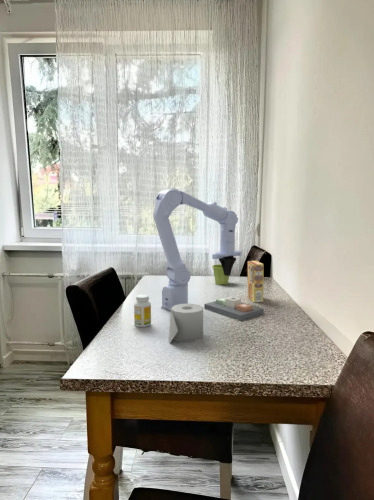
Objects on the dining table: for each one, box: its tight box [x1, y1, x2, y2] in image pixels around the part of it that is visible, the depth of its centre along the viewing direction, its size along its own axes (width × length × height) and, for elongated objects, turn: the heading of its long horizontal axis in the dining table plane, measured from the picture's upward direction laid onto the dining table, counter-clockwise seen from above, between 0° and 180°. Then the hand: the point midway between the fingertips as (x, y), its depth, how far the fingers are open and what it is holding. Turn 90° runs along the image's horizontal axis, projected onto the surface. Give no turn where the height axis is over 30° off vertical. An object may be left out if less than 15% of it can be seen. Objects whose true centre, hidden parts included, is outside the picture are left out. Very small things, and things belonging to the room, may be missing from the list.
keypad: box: [203, 300, 265, 321], centre depth 132 cm, size 12×18×2 cm, turn 39°
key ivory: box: [225, 296, 242, 309], centre depth 131 cm, size 4×4×3 cm
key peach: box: [236, 303, 252, 312], centre depth 127 cm, size 4×4×3 cm
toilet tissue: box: [168, 303, 204, 344], centre depth 105 cm, size 9×13×9 cm
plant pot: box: [211, 263, 230, 286], centre depth 175 cm, size 9×9×9 cm
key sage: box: [215, 297, 227, 306], centre depth 135 cm, size 4×4×3 cm
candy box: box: [247, 260, 265, 303], centre depth 146 cm, size 9×4×15 cm, turn 8°
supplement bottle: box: [133, 293, 152, 328], centre depth 117 cm, size 5×5×10 cm
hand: (227, 275), depth 144 cm, fingers closed
